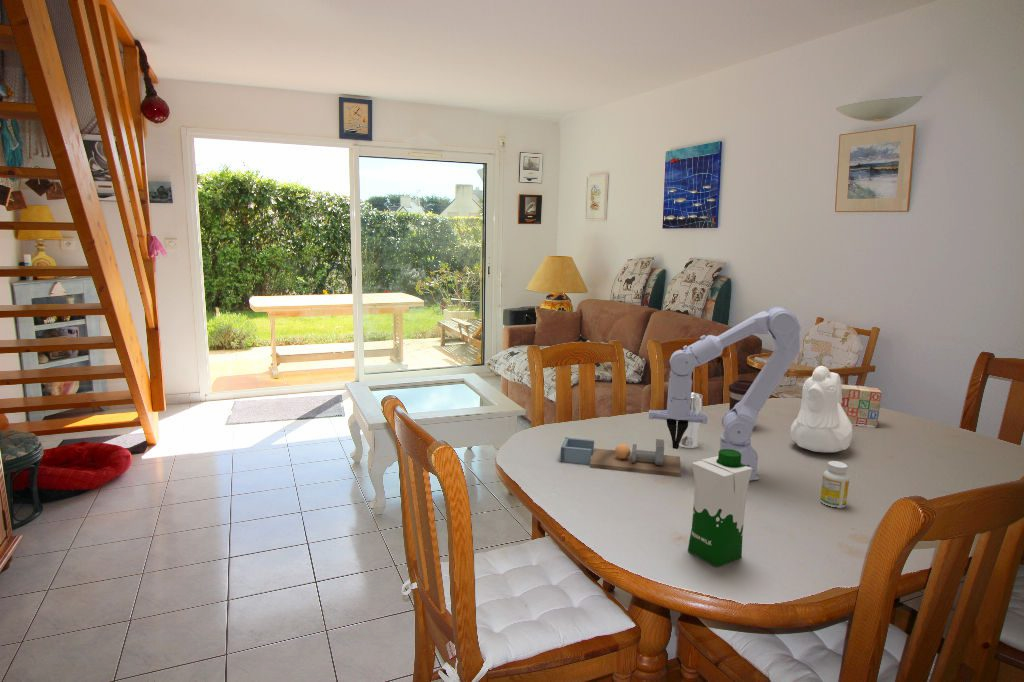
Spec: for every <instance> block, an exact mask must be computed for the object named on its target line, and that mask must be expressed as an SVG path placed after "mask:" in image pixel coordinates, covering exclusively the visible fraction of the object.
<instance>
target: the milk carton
mask: <svg viewBox="0 0 1024 682" xmlns="http://www.w3.org/2000/svg"><path fill="white" fill-rule="evenodd" d="M691 465H692V470H693V471H692V472H693V477H694V494H693V508H692V518H691V519H692V521H691V523H692V524H691V530H690V536H689V542H688V546H687V551H688V552H689V553H691V554H693V555H695V556H696V557H698V558H700V559H701V560H702V561H703V560H704V561H705V562H707V563H709V564H710V565H712V566H714V567H716V568H718V567H721V566H723V565H725V564H729V563H732V562H734V561H735V560H738V559H741V558H742V556H743V555H742V553H743V535H744V524H745V523H744V522H745V515H746V514H745V513H746V512H745V510H746V504H747V502H746V501H747V492H748V487H749V483H750V481H751V480H750V476H751V472H752V468H750V467H747V466H746V465H744V464H742V463H741V453H740V452H738V451H735V450H731V449H722V450H720V449H719V450H718V455H716V456H711V457H707V458H702V459H700V460H698V461H695V462H691ZM749 480H750V481H749Z"/></svg>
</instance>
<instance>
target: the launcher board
mask: <svg viewBox="0 0 1024 682" xmlns="http://www.w3.org/2000/svg"><path fill="white" fill-rule="evenodd" d="M631 462H632V451H630V455H629V457H628V458H626V459H620V458H618V457H617V456H616V454H615V450H614V449H605V448H596V447H594V451H593V455H591V462H590V465H589V468H594V469H603V470H613V471H620V472H630V473H631V472H633V473H641V474H650V475H651V474H653V475H661V476H670V477H672V476H673V477H682V467H681V465H682V464H681V458H680V456H679V455H677V456H676V455H667V454H664V458H663V466H661V465H655V463H651V462H641V461H636V462H635V463H631Z"/></svg>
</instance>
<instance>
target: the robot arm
mask: <svg viewBox="0 0 1024 682" xmlns="http://www.w3.org/2000/svg"><path fill="white" fill-rule="evenodd" d="M800 333H801V325H800V323H799V319H798V318H797V316H796V315H795V314H794V313H793V312H792V311H790V310H788V309H786V308H785V307H783V306H779V305H777V306H776V305H775V306H772V307H770V308H768V309H767V310H763V311H760V312H758V313H756V314H754V315H752V316H750V317H749V318H747V319H745V320H744V321H741V322H740V323H738V324H737V325H734V326H733V327H731V328H729V329H727V330H726V331H725V332H723V333H721V334H719V335H712V334H708V335H705V334H704V335H701V336H700V337H699V338H700V339H699V340H697V341H695V342H693V343H692V344H690V345H688V346H687V344H686V345H684V346H683V347H682V348H683V349H678V350H676V351H674V352H673V353H672V354H671V356H670V359H669V361H668V362H669V366H670V371H669V378H668V387H667V388H668V390H667V403H666V409H664V410H663V409H661V410H660V409H659V410H658V409H657V410H656V409H655V410H654V409H649V410H648V419H649V420H662V421H663V420H664V421H666V425H667V428H668V431H669V434H670V437H671V442H672V449H673V450H674V449H676V450H678V449H679V447H680V446H679V443H680V441H681V438H682V436H683V434H684V432H685V431H686V429H687V428H688V422H695V423H700V424H702V425H708V415H707V414H703V413H702V414H696V413H690V401H691V392H692V386H693V380H692V373H693V372H694V370H695V367H700V366H702V365H704V364H707V363H708V362H711V361H713V360H714V359H716V358H718V357H720V356H721V355H722V354H723V351H724V348H726V347H728V346H730V345H732V344H735V343H737V342H739V341H741V340H743V339H746V338H747V337H748V338H749V336H751V335H754V334H760V335H769V334H771V338H772V341H773V343H774V347H775V349H774V350H773V352H772V353H771V355H770V356H769V358H768V359H767V361H766V362H765V364H764V365H763V367H762V368H761V370H760V371H759V372H758V374H757V375H756V377H755V378H754V380H753V381H754V382H753V383H752V385H751V386H750V388H749V389H748V391H747V392H746V394H745V395H744V397H743V398H742V400H741V401H740V402H738V403H737V404H736V405H735V406H734V408H733V409H732V410H730V411H726V412H725V413H724V415H723V416H722V418H721V425H722V427H723V429H724V432H723V433H722V434H721V435H720V439H719V442H720V443H719V451H720V450H722V449H731V450H735V451H738V452H740V453H741V463H742V464H744V465H746V466H747V467H750V468H752V472H751V476H750V480H749V482H751V481H758V480H760V478H759V476H757V471H758V470H757V469H758V464H759V463H758V462H759V461H758V460H759V456H758V452H757V450H756V449H754V448H753V446H752V443H751V438H752V436H753V430H754V429H753V427H754V428H755V426H754V425H756V424H757V420H758V417H759V413H760V412H761V409H763V407H764V405H765V404H766V402H767V401H768V399H769V398H770V396H771V395H772V394H773V392H774V391H775V389H776V387H777V386H778V385H779V383H780V382H781V381H782V379H783V377H784V376H785V374H786V373H787V372H788V370H789V369H790V367H791V366H792V364H793V362H794V361H795V360H796V358H797V357H798V355H799V354H800V335H801V334H800ZM752 429H753V430H752Z"/></svg>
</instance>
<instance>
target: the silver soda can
mask: <svg viewBox="0 0 1024 682" xmlns="http://www.w3.org/2000/svg"><path fill="white" fill-rule="evenodd" d="M703 397H704V396H703V395H702V394H701V393H697V392H694V391H691V401H690V413H696V414H702V415H703V411H704V409H703V407H704V406H703V405H704V401H703V400H704V399H703ZM700 424H701V423H695V422H688V428H687V429H686V431H685V432H684V434H683V436H682V438H681V441H680V443H679V447H680V448H683V447H684V449H696V447H697V448H698V447H699V439H698V438H699V437H698V436H699V435H698V433H699V428H700Z"/></svg>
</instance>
